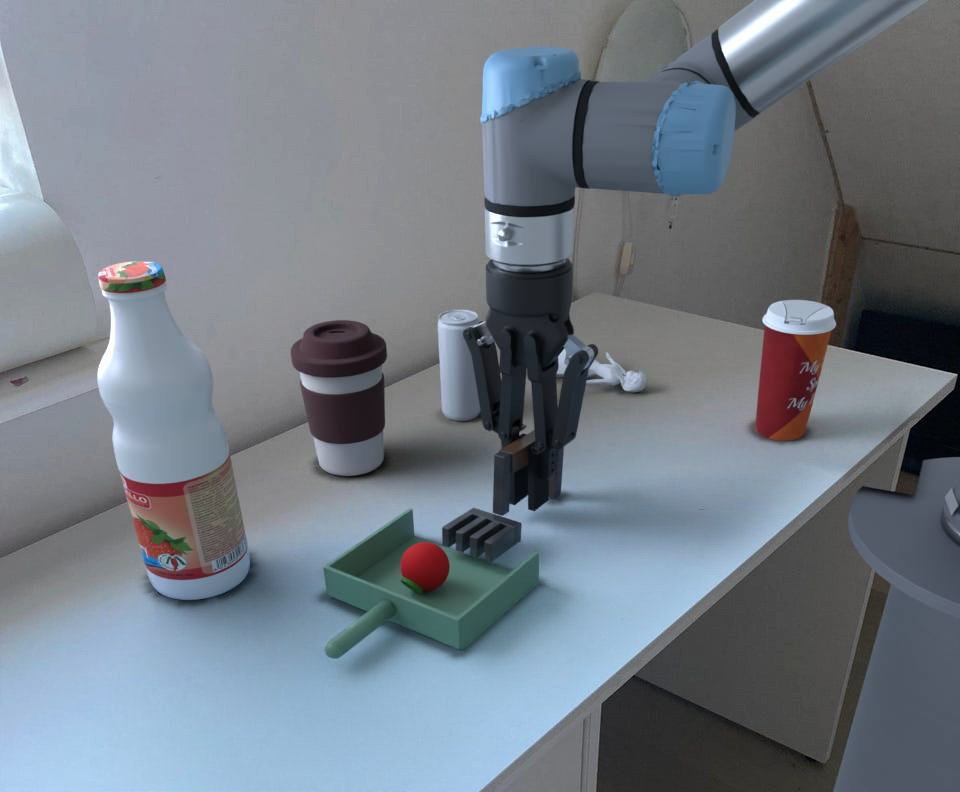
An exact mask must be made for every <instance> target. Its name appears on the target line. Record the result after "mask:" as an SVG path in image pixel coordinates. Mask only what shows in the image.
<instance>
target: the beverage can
mask: <svg viewBox="0 0 960 792" xmlns="http://www.w3.org/2000/svg"><path fill="white" fill-rule="evenodd" d="M478 322H480V320H479V314H478V312H475V311H473V310H469V309H450V310H446V311H444V312H441V313H440V314H438V321H437V335H438V336H437V339H438V357H439V378H440V396H441V397H440V398H441V399H440V400H441V412H442V413H443V415H444V416H445V418H447V419H449V420H451V421H456V422H467V421H471V420H474V419H476V418H477V417H478V416H479V414H481V410H480V404H479V398H478V392H477V386H476V380H475V373H474V367H473V361H472V355H471V352H470V350H469V348H468V346H467V344H466V341H465V339H464V337H463V331H464V330H465V329H467V328H469V327H471V326H472V325H474V324H476V323H478Z"/></svg>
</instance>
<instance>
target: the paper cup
mask: <svg viewBox="0 0 960 792" xmlns="http://www.w3.org/2000/svg"><path fill="white" fill-rule="evenodd" d="M761 321H762V323H763V324H764V329H763V338H762V340H763V341H762V347H761V348H762V349H761V360H760V370H759V379H758V380H759V382H758V389H757V401H756V413H755V431H756V433H757V434H758V435H760V436H762V437H763V438H766V439H769V440H774V441H780V442H781V441H782V442H783V441H785V442H786V441H787V442H788V441H794V440H798V439H800V438H802V437H803V436H804V435H805V433H806V429H807V426H808V422H809V419H810V416H811V412H812V407H813V403H814V400H815V397H816V392H817V389H818V386H819V381H820V378H821V373H822V369H823V365H824V361H825V358H826V353H827V351H828V346H829V342H830V339H831V335H832V331H833V329H835V328H836V327H837V322H836V320H835V312H834V310H833V308H831V306H829V305H827V304H824V303H820V302H818V301H812V300H806V299H785V300H778V301H776V302H773V303H771V304H770V305H769V306H768V308H767V311H766V313H765V314H764V315H763V316H762V320H761Z"/></svg>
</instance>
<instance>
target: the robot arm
mask: <svg viewBox="0 0 960 792" xmlns="http://www.w3.org/2000/svg"><path fill="white" fill-rule="evenodd" d="M928 1H929V0H753V1H751V2H750V3H749V4H747V6H745V7H743V8H742V9H741V10H740V11H738V12H737V13H736V14H734V15H733V16H732V17H730V18H729V19H728V20H726V21H725V22H724V23H723V24H721V25H720V26H719V27H717V29H715V30H714V31H713V32H711V33H710V34H708V35H706V36H705V37H704V38H702V39H701V40H700V41H698V42H697V43H696V44H695V45H693V46H691V48H689V49H688V50H686V51H685V52H683V54H681V55H680V56H678V57H677V58H675V59H673V61H671V62H669V63H667V65H665V66H664V67H663V68H661V69H660V70H659V72H657V73H656V74H654V75H652V76H651V77H650V78H648V79H647V80H645V81H599V80H591V79H584V78H582V72H581V71H580V60H579V56H578V55H577V53H576V52H575V51H574V50H572V49H569V48H565V47H554V46H524V47H515V48H507V49H502V50H498V51H496V52H494V53H492V54H491V55H489V57H487V60H486V61H485V63H484V66H483V70H482V95H481V96H482V97H481V98H482V101H481V104H482V105H481V115H480V117H479V118H480V124H481V136H482V159H483V160H482V164H483V165H482V166H483V188H484V190H483V191H484V199H483V200H484V240H485V255H486V257H488V258H489V259H490V260H489V261H488V262H487V263H486V264H485V294H486V295H485V297H486V299H485V300H486V303H487V305H488V311H487V313H486V316H485V321H483V320H481V321H480V320H479V322H478V323H476V324H474V325H472V326H471V327H469V328H467V329H465V330H464V331H463V337H464V339H465V341H466V344H467V346H468V348H469V350H470V352H471V355H472V361H473V367H474V373H475V380H476V386H477V392H478V398H479V404H480V410H481V411H480V414H481V421H482V426H483V428H484V430H486V431H488V432H494V433H495V434H497V435H498V438H499V439H500V442H501V443H500V445H501V447H500V449H502V448H504V447H506V446H507V445H509V444H511V443H513V442H514V441H516V440H518V439H520V438H521V437H523V436H525V435H527V434H528V433H521V432H522V431H524V430H525V429H526V428H527V424H524V409H525V398H526V385H527V380H528V381H529V382H530V385H531V386H530V387H531V400H532V401H531V402H532V415H533V431H534V432H535V445H534V446H532V447H531V448H530V449H528V465H526V466H524V467H523V468H521V469H519V470H518V471H516V472H515V473H513V474H512V473H511V475H510V503H509V505H512V506H516V505H517V504H519V503H520V502H521V501H522V500H524V499H525V498H526V497H527V510H528V511H531V512H536V511H537V510H539V508H541V507H542V506H543V505H545V504H546V503H547V502H548V501H549V500H550V497H549V478H551V477H552V476H553V475H554V474H555V472H556V452H557V449H558V450H559V449H561V448H563V447H564V448H565V447H566V446H567V445H568V444H570V443H571V442H573V441H574V440H575V439H576V437H577V433H578V428H579V422H580V418H581V411H582V407H583V401H584V396H585V391H586V386H587V385H586V381H588V378H587V376H588V371H589V368H590V366H591V365H592V363H593V361H594V360H596V358H597V356H598V355H599V348H598V346H597V345H596V344H594V343H589V344H587V345H586V344H585V343H584V342H583V341H581V340H580V339H579V338H578V337H577V336H575V327H574V324H573V322H572V320H571V315H570V312H571V306H572V301H573V283H574V282H573V277H574V276H573V275H574V264H573V262H571V260H570V258H571V257H572V255H573V254H574V251H575V206H576V189H577V188H578V189H587V190H588V189H589V190H591V189H595V190H607V191H621V192H632V193H633V192H635V193H648V194H662V195H669V196H670V197H680V196H682V195H710V194H713V193H715V192H717V191H718V190H719V189H720V188H721V187H722V185H723V184H724V181H725V179H726V175H727V171H728V170H729V167H730V166H729V165H730V160H731V155H732V150H733V144H734V137H735V132H737V130H739V129H741V128H742V127H743V126H745V125H747V124H748V123H750V122H751V121H752V120H754V119H755V118H756V117H758V115H761V114H762V113H763V112H764V111H766V110H767V109H769V108H771V107H772V106H774V105H775V104H776V103H778V102H779V101H781V100H783V98H785V97H786V96H788V95H789V94H791V93H793V92H794V91H797V89H799V88H800V87H802V86H803V85H805V84H806V83H807V82H809V81H810V80H812V79H813V78H815V77H817V76H818V75H819V74H821V73H822V72H824V71H826V70H827V69H828V68H830V67H832V66H833V65H835V63H837V62H838V61H840V60H841V59H843V58H844V57H846V56H848V55H849V54H851V53H852V52H853V51H855V50H857V49H858V48H859V47H861V46H862V45H864V44H865V43H867V42H868V41H870V40H872V39H873V38H874V37H876V36H877V35H879V34H880V33H881V32H883V31H885V30H886V29H888V28H889V27H891V26H892V25H893V24H895V23H897V22H898V21H900V19H903V18H904V17H906V16H907V15H909V14H910V13H912V12H913V11H915V10H916V9H917V8H919V7H921V6H922V5H923V4H925V3H926V2H928ZM497 348H498V349H499V356H498V350H497ZM564 348H565V350H566V357H565V360H564V363H565V364H566V365H568V366H567V368H566V370H565V372H564V376H563V377H562V381H561V385H560V386H561V387H560V393H559V398H558V383H557V382H558V381H557V377H556V373H557V371H558V367H559V365H558V356H559V355H560V354H561V352H562V351H563V350H564ZM520 433H521V434H520ZM945 500H946V501H945V504H944V507H943V510H942V514H941V520H940V521H941V525H942V528H943V530H944V532H945V533H946V534H947V536H948V537H949V538H950V539H951V540H952V541H953V542H954V543H956V544H957V545H958V546H960V480H959V481H958V482H957V484H956V485H955V486H954V488H953V489H952V488H951V489H950V491H949V492H948V493H947V495H946V496H945Z"/></svg>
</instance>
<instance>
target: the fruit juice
mask: <svg viewBox="0 0 960 792" xmlns="http://www.w3.org/2000/svg"><path fill="white" fill-rule="evenodd" d="M97 275H98V284H99V288H100V291H101V294H102V296H103V297H104V298H106V299H107V301H108V306H109V311H110V335H109V340H108V341H109V342H108V344H107V348H106V350H105V352H104V354H103V356H102V358H101V360H100V362H99V365H98V368H97V375H96V380H97V386H98V391H99V395H100V398H101V400H102V402H103V405H104V406H105V408H106V409H107V411H108V413H109V414H110V416H111V417H112V421H113V429H112V433H111V434H112V436H111V437H112V438H111V439H112V447H113V452H114V457H115V462H116V466H117V469H118V472H119V475H120V480H121V482H122V486H123V490H124V493H125V497H126V502H127V505H128V508H129V512H130V515H131V519H132V524H133V527H134V530H135V534H136V537H137V541H138V544H139V549H140V552H141V556H142V559H143V563H144V567H145V570H146V574H147V577H148V579H149V581H150V583H151V584H152V587H153V588H154V589H155V590H156V591H157V592H158V593H160V594H161V595H163V596H165V597H167V598H171V599H175V600H183V601H193V600H194V601H195V600H202V599H204V600H205V599H209V598H213V597H215V596H219V595H222V594H224V593H226V592H229V591H231V590H232V589H234V588H236V587H237V586H238V585H240V584H241V583H242V582H243V581H244V580H245V579H246V577H247V575H248V574H249V571H250V566H251V555H250V550H249V545H248V541H247V540H248V539H247V534H246V528H245V525H244V519H243V514H242V508H241V503H240V498H239V494H238V488H237V483H236V478H235V473H234V468H233V463H232V458H231V453H230V447H229V441H228V437H227V434H226V430H225V427H224V424H223V421H222V419H221V417H220V416H219V414H218V413H217V411H216V409H215V408H214V404H213V398H214V397H213V396H214V375H213V372H212V368H211V364H210V362H209V360H208V358H207V356H206V355H205V353H204V352H203V351H202V349H200V348H199V347H198V345H196V344H195V343H194V342H193V341H192V340H190V339H189V338H187V336H186V335H185V333H183V331H182V330H181V329H180V327H179V325H178V323H177V322H176V320H175V318H174V316H173V314H172V312H171V310H170V307H169V305H168V302H167V299H166V295H165V294H166V293H165V291H166V290H167V286H168V285H167V278H166V274H165V271H164V268H163V266H162V265H161V264H159V263H158V262H153V261H144V260H137V261H135V260H133V261H127V262H126V261H125V262H119V263H116V264H115V263H114V264H112V265H109V266H107V267H104V268H102V269H101V270H100V271H99V272H98V274H97Z"/></svg>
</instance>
